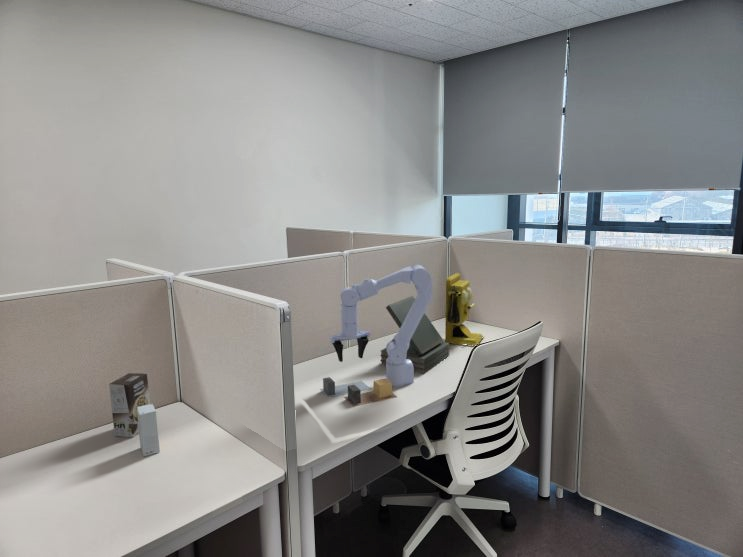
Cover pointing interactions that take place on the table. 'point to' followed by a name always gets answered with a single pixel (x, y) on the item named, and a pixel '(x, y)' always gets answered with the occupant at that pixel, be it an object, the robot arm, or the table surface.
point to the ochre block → (382, 388)
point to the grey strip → (339, 387)
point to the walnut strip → (363, 396)
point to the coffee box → (128, 402)
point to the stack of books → (419, 339)
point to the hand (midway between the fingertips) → (350, 359)
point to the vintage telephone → (458, 312)
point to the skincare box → (148, 429)
